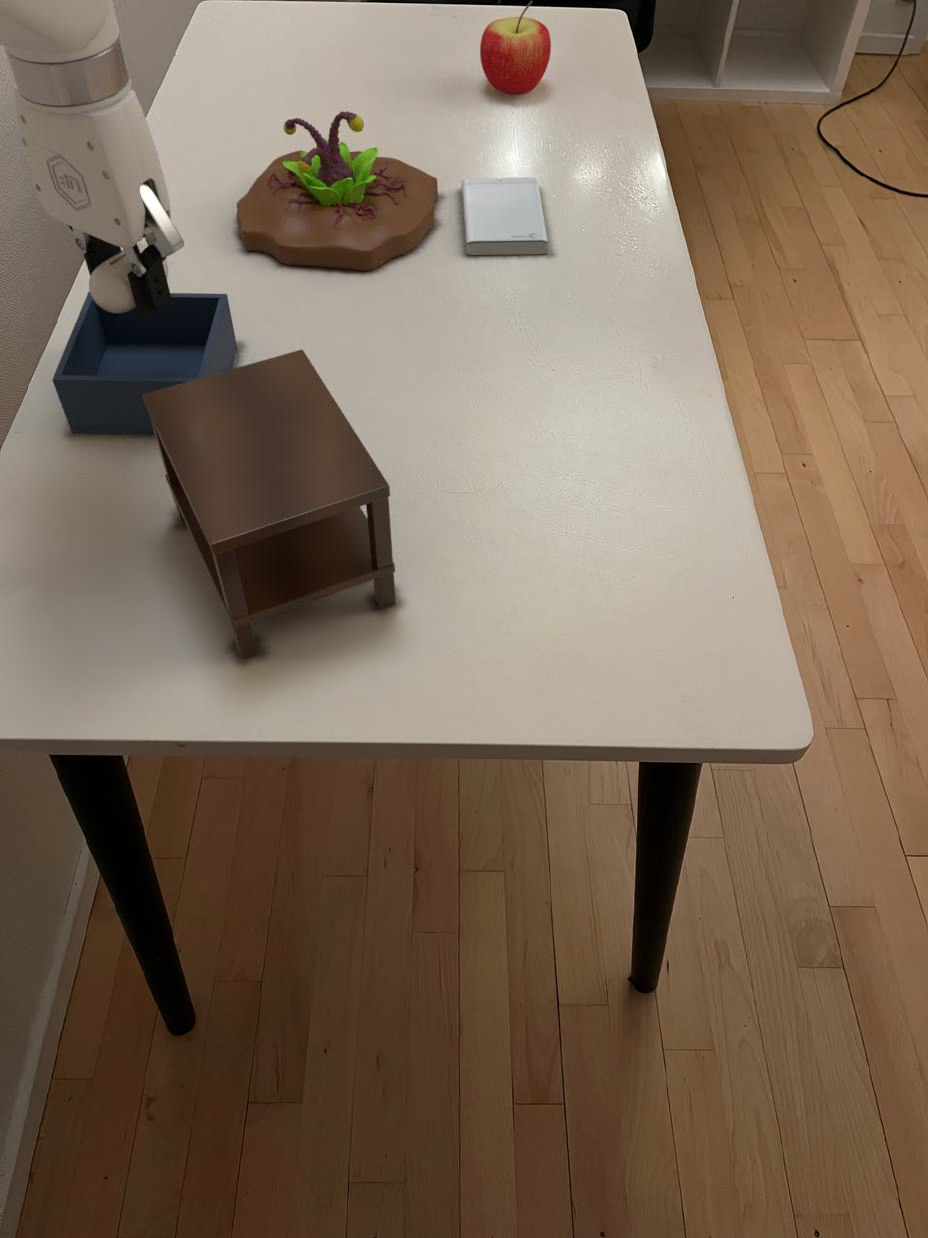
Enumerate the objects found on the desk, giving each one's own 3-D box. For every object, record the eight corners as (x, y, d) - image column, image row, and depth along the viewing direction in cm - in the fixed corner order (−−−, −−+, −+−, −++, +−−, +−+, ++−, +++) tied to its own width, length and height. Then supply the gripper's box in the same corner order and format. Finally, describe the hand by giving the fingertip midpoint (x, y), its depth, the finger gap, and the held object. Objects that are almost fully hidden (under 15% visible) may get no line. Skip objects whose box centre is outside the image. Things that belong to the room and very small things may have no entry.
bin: (215, 435, 89) (203, 381, 85) (71, 432, 89) (51, 379, 85) (237, 346, 97) (226, 293, 93) (104, 344, 97) (88, 291, 93)
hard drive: (548, 239, 106) (537, 175, 113) (466, 241, 105) (461, 176, 113) (547, 254, 107) (536, 190, 115) (466, 256, 107) (461, 191, 114)
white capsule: (121, 329, 84) (108, 285, 81) (86, 312, 85) (71, 268, 82) (182, 287, 88) (172, 243, 84) (147, 271, 89) (136, 227, 86)
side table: (241, 661, 74) (210, 544, 65) (176, 515, 83) (141, 394, 74) (397, 604, 78) (389, 485, 68) (318, 469, 87) (302, 348, 77)
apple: (556, 101, 128) (563, 12, 120) (488, 108, 126) (490, 19, 119) (538, 71, 133) (543, -16, 125) (472, 78, 131) (473, -10, 124)
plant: (394, 287, 103) (388, 177, 94) (213, 250, 107) (191, 142, 98) (459, 186, 115) (460, 81, 106) (294, 157, 119) (282, 52, 110)
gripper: (-56, 56, 73) (28, 287, 87) (118, 123, 67) (177, 359, 82) (28, 18, 77) (95, 245, 91) (199, 78, 71) (242, 310, 85)
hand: (133, 296), depth 86 cm, fingers closed on white capsule, 4 cm apart
